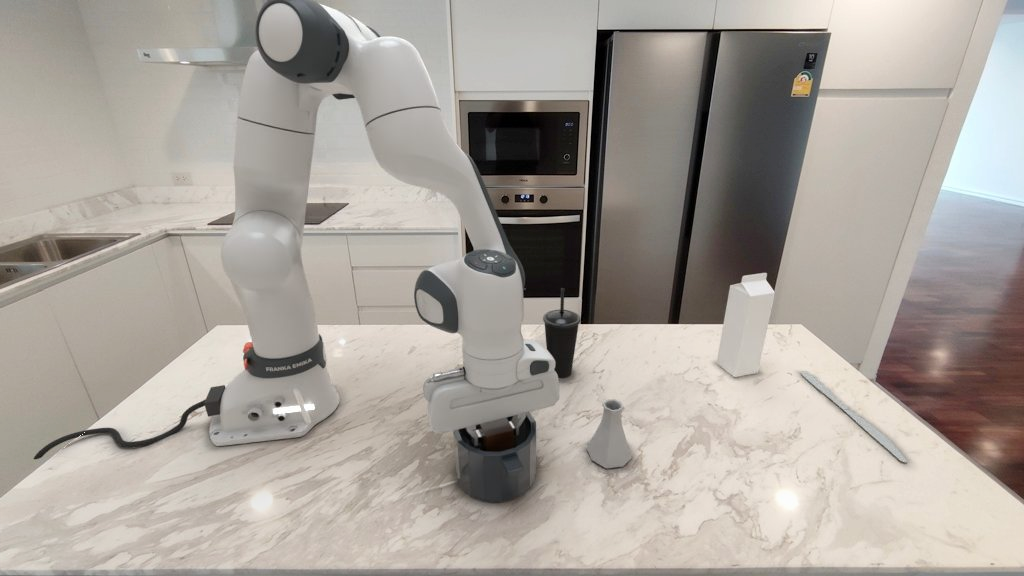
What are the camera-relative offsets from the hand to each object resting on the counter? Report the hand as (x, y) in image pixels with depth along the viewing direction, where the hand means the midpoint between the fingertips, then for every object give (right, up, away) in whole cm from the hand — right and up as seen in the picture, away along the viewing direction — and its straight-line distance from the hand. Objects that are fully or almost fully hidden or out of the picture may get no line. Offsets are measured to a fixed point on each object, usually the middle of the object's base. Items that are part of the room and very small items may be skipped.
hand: (495, 438), depth 75 cm
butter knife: (+66, 0, +15) cm, 68 cm away
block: (0, -2, +1) cm, 2 cm away
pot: (0, -6, +2) cm, 7 cm away
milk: (+52, +6, +30) cm, 60 cm away
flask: (+19, -5, +6) cm, 20 cm away
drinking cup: (+13, +5, +29) cm, 32 cm away
